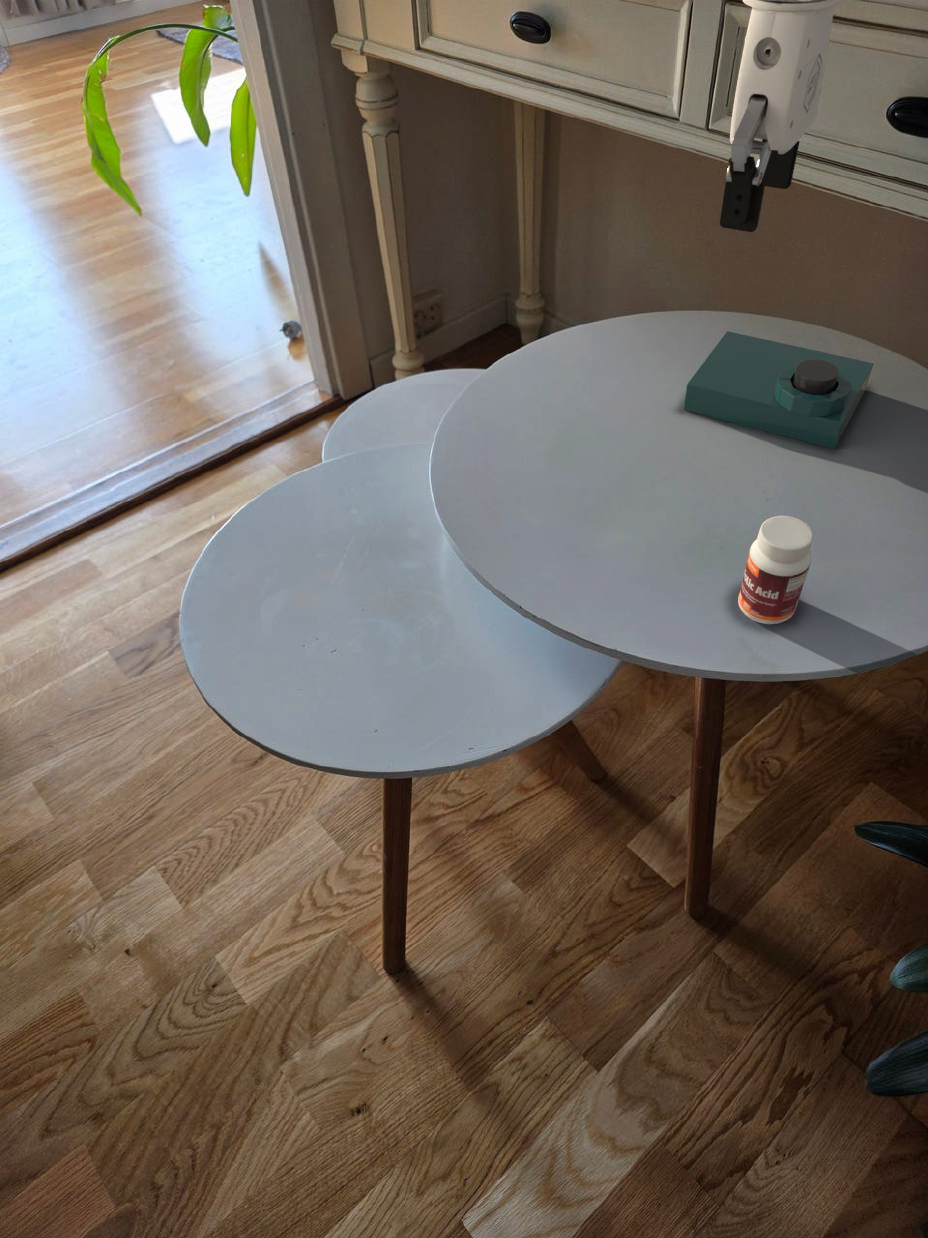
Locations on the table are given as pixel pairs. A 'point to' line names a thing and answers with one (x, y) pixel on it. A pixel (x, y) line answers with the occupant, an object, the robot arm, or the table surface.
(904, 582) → the table surface
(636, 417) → the table surface
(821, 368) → the dark grey push button
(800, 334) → the table surface
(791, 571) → the pill bottle
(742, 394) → the teal rectangular block
